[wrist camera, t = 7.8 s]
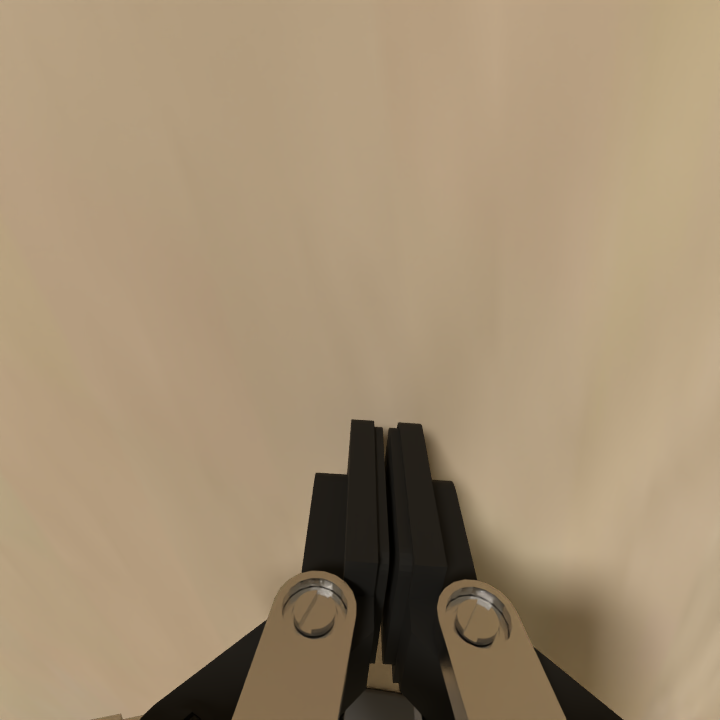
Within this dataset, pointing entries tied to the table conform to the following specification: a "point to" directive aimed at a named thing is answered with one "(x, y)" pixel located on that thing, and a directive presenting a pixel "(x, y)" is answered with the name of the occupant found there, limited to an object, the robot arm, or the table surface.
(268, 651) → the robot arm
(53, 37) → the table surface
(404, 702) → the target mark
